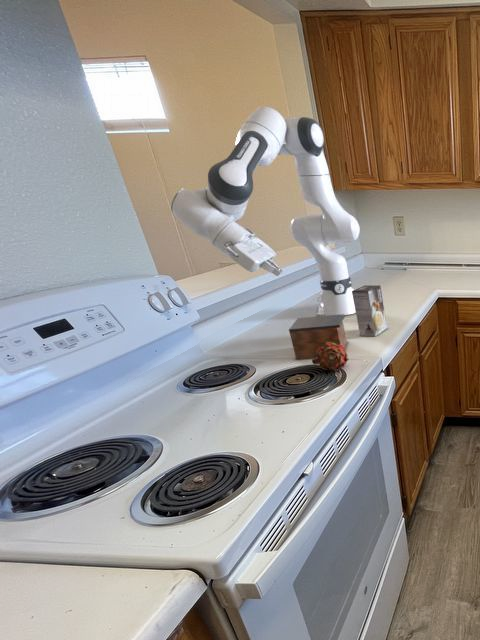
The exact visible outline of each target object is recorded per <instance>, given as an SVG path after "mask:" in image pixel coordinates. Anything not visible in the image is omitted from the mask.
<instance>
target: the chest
mask: <svg viewBox="0 0 480 640" xmlns="http://www.w3.org/2000/svg"><path fill="white" fill-rule="evenodd" d="M289 336H290V340H291V345H292V348H293V352H294V356H295V359H296V360H304V359H315V358H316V356H317V355H316V356H315V357H314V355H315V354H316V351H317V350H318V348H319V347H323V346H324V345H325V344H326V343H327V342H333V343H335V344H337V345H338V344H340V345H341V346H343V347H344V348H346V346H347V342H348V340H347V336H346V331H345V325H344V320H343V321H342V323H341V326H340V327H339V328H328V329H317V330H306V331H294V332H289Z"/></svg>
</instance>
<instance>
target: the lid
mask: <svg viewBox="0 0 480 640" xmlns="http://www.w3.org/2000/svg"><path fill="white" fill-rule="evenodd" d="M344 318H345V315H344V314H341V315H328V316H318V315H317V316H305V317H297V318H296V320H295V321H294V322H293V323H292V325H291V326H290V327H289V328H288V332H289V333H290V332H294V331H306V330H317V329H328V328H339V327H340V326H341V323H342V321H343V322H344Z"/></svg>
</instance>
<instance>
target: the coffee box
mask: <svg viewBox="0 0 480 640" xmlns="http://www.w3.org/2000/svg"><path fill="white" fill-rule="evenodd" d="M352 295H353V300H354V305H355V311H356V313H355V315H356V321H357V326H358V327H357V328H358V331H359V336H362V337H364V336H365V337H377V336H378V335H380V334H381V333H382V332H384V331H385V330H387V329H388V326H387V319H386V313H385V306H384V300H383V294H382V288H381V285H379V284H377V285H362V286H361V287H358V288H356V289H355V290H353V291H352Z"/></svg>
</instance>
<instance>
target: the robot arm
mask: <svg viewBox="0 0 480 640" xmlns="http://www.w3.org/2000/svg"><path fill="white" fill-rule="evenodd" d="M324 146H325V134H324V131H323V129H322V127H321V125H320V124H319V122H317V121H316V119H314V118H311V117H307V116H302V117H299V116H283V115H282V114H281V113H280V112H279V111H277V109H275V108H273V107H270V106H267V105H263V106H259V107H257V108H256V109H254V110H253V111H252V113H250V114H249V115H248V117H246V119H245V121H244V122H243V123H242V125H241V127H240V128H239V131H238V133H237V137H236V140H235V146H234V148H233V150H231V153H230V154H229V155H228V156H227V157H226V158H224V159H223V160H221V161H218V162H217V163H215V164H213V165H212V166H211V167H210V168H209V169H208V172H207V186H206V187H204V188H200V189H187V188H181V189H180V190H178V191H177V193H176V194H175V195H174V197H173V198H172V201H171V205H170V206H171V207H170V211H171V214H172V215H173V216H174V218H175V219H177V220H178V221H179V222H180V223H181V224H182V225H184V226H185V227H186V228H187V229H189V230H190V231H191V232H193V233H195V234H196V235H197V236H200V237H202V238H204V239H205V240H207V241H208V242H209V243H210V244H211V245H212V246H213V247H215V248H216V249H218V250H219V251H221V252H222V253H223V254H225V255H227V257H229V258H230V259H231V260H233V261H234V262H235V263H236V264H238V265H239V266H241V267H242V268H243V269H245V270H246V271H247V272H250V273H254V272H256V271H257V270H259V269H261V268H262V269H263V270H264V271H267V272H269V273H271V274H273V276H276V277H278V276H280V275H282V273H283V269H282V268H281V267H280V266H278V265H277V264H276V262H275V261H274V259H275V258H276V257H277V253H276V252H275V250H274V249H273V248H272V247H271V246H269V245H268V244H267V243H266V242H264V241H263V240H261V238H260V237H257V236H256V233H255V232H254V231H253V230H251V229H249V228H245V227H243V226H242V225H240V224H239V223H237V222H238V221H239V220H241V218H243V217H244V215H245V212H246V210H247V208H248V207H247V206H248V203H249V200H250V197H251V195H252V193H253V191H254V180H253V175H254V172H255V170H256V169H257V167H269V166H270V165H271V164H272V163H273V162H274V161H275V160H276V158H277V157H278V156H279V155H285V156H293V157H294V163H295V169H296V173H297V179H298V182H299V183H298V184H299V187H300V191H301V195H302V198H303V199H304V200H305V201H306V202H307V203H309V204H310V205H313V206H316V207H318V208H319V209H320V211H321V212H322V214H304V215H300V216H297V217H293V218H292V219H291V222H290V224H289V225H290V226H289V230H290V234H291V236H292V238H293V239H294V241H295V242H297V243H298V244H300V245H302V246H303V247H304V248H306V249H307V251H309V252H310V254H311V255H312V257H313V258H314V260H315V262H316V265H317V270H318V273H319V278H320V280H319V286H320V288H321V292H320V294H319V296H318V297H317V298H316V299H317V303H318V304H319V306H318V310H317V316H328V315H341V314H344V316H348V315H353V314H356V311H355V305H354V300H353V295H352V291H353V290H356V289H355V288H353V287H352V286H353V285H352V284H353V283H352V279H351V277H350V274H349V269H348V264H347V260H346V258H345V257H344V256H343V255H342V254H340V253H339V252H336V251H334V250H332V249H331V247H329V244H330V245H333V244H347V243H351V242H354V241H357V240H358V238H359V236H360V232H361V228H360V224H359V222H358V220H357V218H356V217H355V216H353V215H352V214H350V213H349V212H348V211H347V210H345V209H344V207H343V206H342V205H341V204H340V202H339V201H338V199H337V197H336V194H335V192H334V188H333V183H332V180H331V174H330V170H329V166H328V162H327V160H326V159H327V158H326V157H325V153H324V150H323V149H324Z"/></svg>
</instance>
